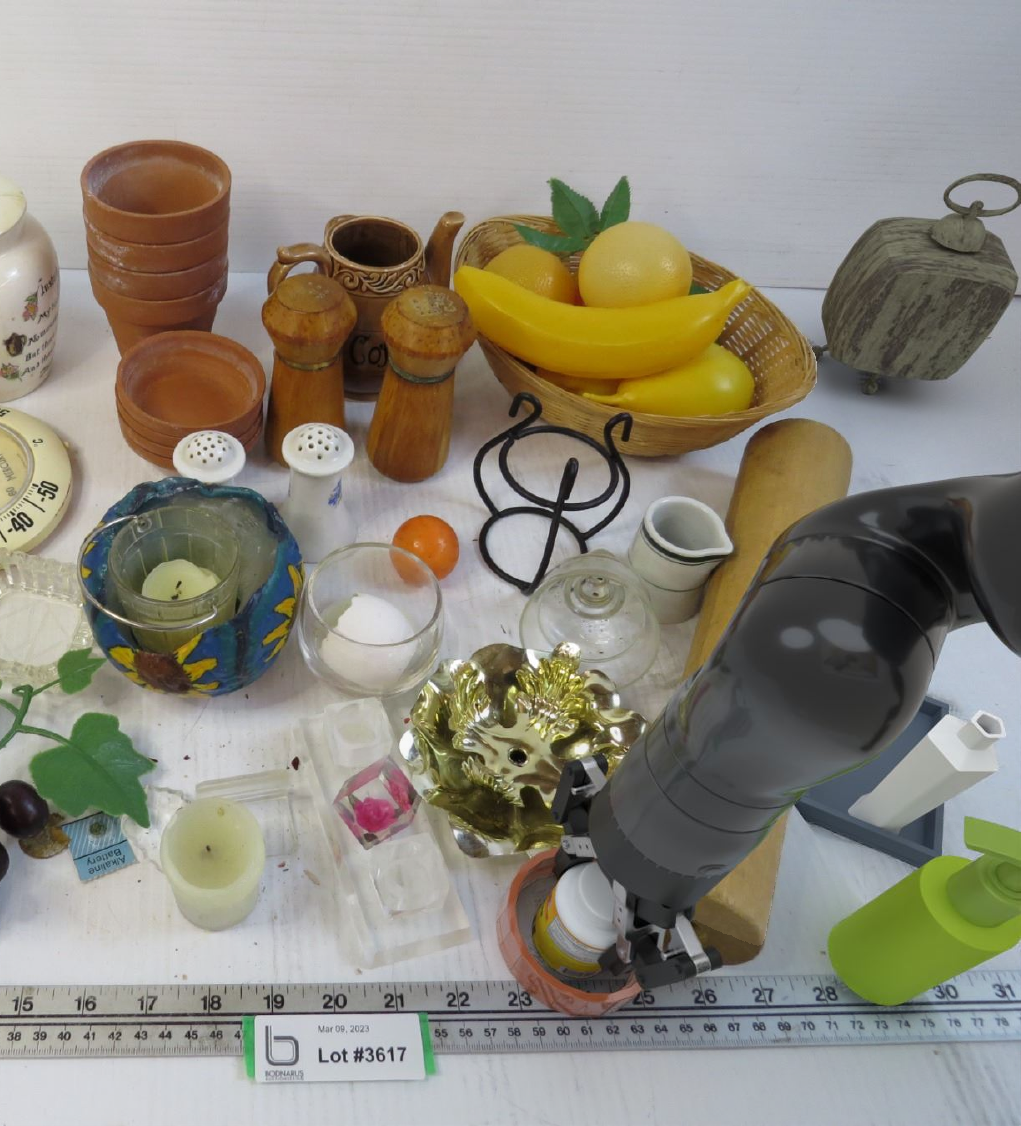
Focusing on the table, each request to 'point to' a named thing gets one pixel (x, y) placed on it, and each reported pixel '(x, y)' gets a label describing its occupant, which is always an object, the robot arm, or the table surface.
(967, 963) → the soap dispenser
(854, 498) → the robot arm
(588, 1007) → the faceted terracotta bangle
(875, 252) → the tabletop clock
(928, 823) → the tray
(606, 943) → the supplement bottle
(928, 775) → the perfume bottle
